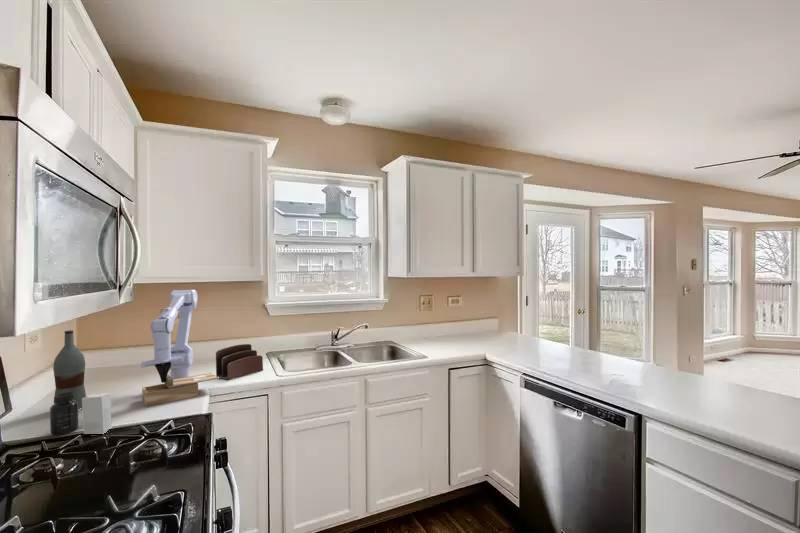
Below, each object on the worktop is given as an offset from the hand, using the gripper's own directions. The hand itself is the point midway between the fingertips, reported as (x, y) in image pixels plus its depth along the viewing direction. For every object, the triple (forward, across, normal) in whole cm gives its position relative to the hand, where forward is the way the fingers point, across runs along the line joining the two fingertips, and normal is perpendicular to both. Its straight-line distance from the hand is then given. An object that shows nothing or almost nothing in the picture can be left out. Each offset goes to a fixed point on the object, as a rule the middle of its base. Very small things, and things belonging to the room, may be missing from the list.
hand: (163, 382), depth 152 cm
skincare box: (+7, -22, -24) cm, 33 cm away
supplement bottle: (+7, -30, -14) cm, 34 cm away
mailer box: (+7, +2, 0) cm, 7 cm away
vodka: (+7, -29, +13) cm, 32 cm away
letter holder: (+7, +35, +17) cm, 40 cm away
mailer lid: (+2, +10, 0) cm, 10 cm away
